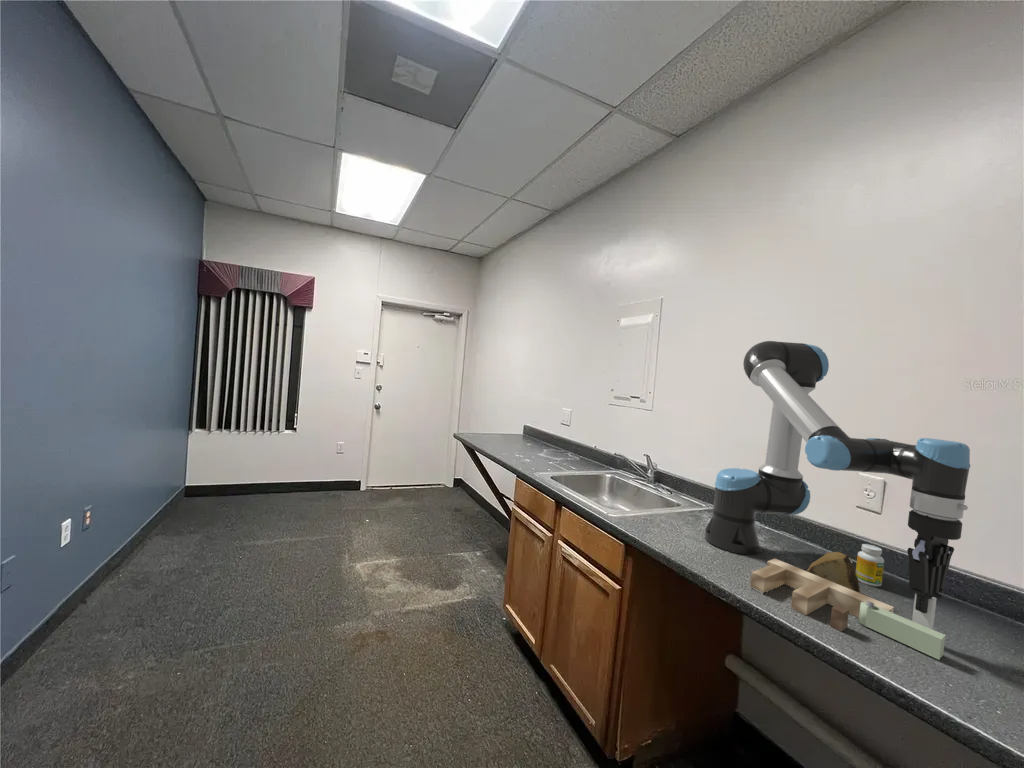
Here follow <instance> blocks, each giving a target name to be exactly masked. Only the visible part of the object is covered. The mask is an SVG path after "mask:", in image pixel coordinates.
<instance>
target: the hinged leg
mask: <svg viewBox="0 0 1024 768" xmlns="http://www.w3.org/2000/svg"><path fill="white" fill-rule="evenodd" d="M858 623H860V624H861V625H863V626H864V627H866V628H869V629H871V630H873V631H875V632H877V633H879V634H882V635H884V636H887V638H890V639H893V640H895V641H897V642H899V643H901V644H904V645H905V646H909V647H910V648H912V649H914V650H915V651H916V650H917V651H919V652H921V653H923V654H924V655H927V656H930V657H931V658H934V659H936V660H938V661H940V659H941V658H942V657H944V652H945V642H946V634H944V633H941V632H939V631H937V630H935V629H933V630H932V629H930V628H927V627H925V626H923V625H920V624H918V623H915V622H913V621H912V619H908V618H906V617H903V616H901V615H899V614H896V613H894V612H893V613H892V612H889V611H887V610H884V609H882V608H880V607H877V606H875V605H874V603H873V602H870V601H867V602H861V605H860V614H859V618H858Z"/></svg>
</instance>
